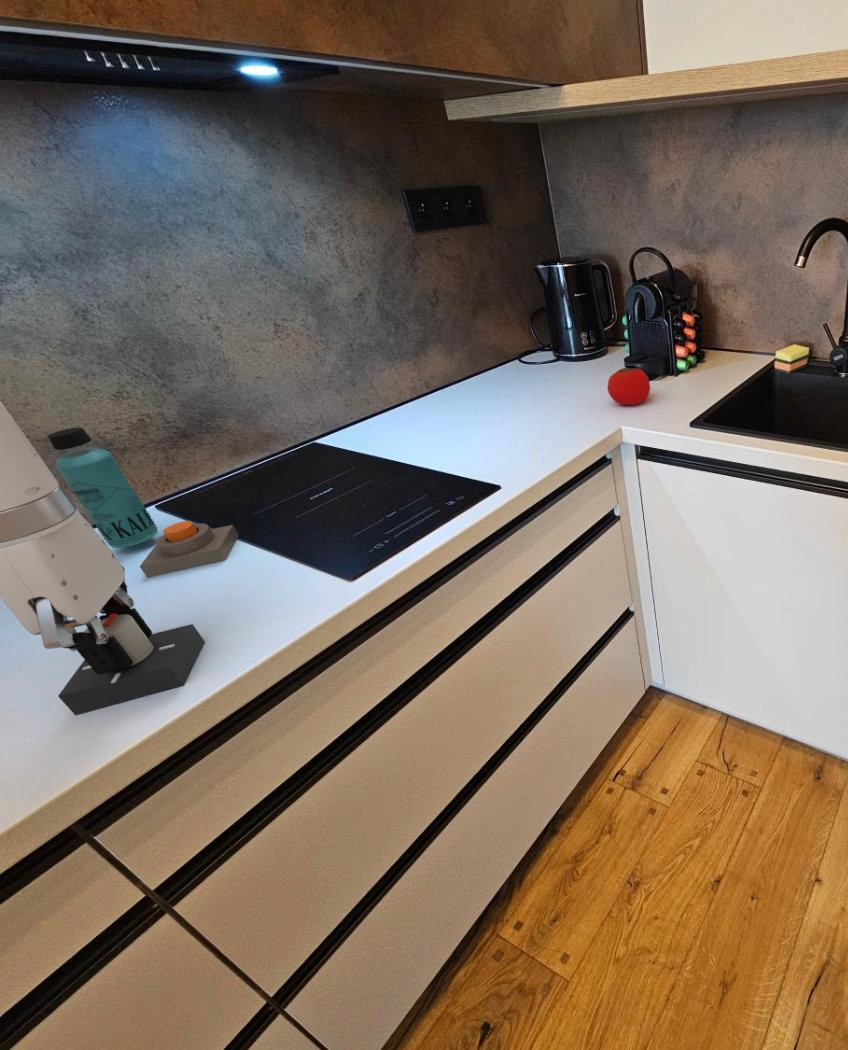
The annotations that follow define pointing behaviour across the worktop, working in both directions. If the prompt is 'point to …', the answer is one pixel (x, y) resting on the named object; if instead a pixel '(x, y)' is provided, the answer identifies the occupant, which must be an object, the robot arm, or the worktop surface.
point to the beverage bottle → (102, 490)
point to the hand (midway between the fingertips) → (125, 652)
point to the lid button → (180, 531)
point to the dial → (127, 636)
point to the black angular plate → (136, 673)
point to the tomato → (629, 386)
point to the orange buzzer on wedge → (190, 550)
